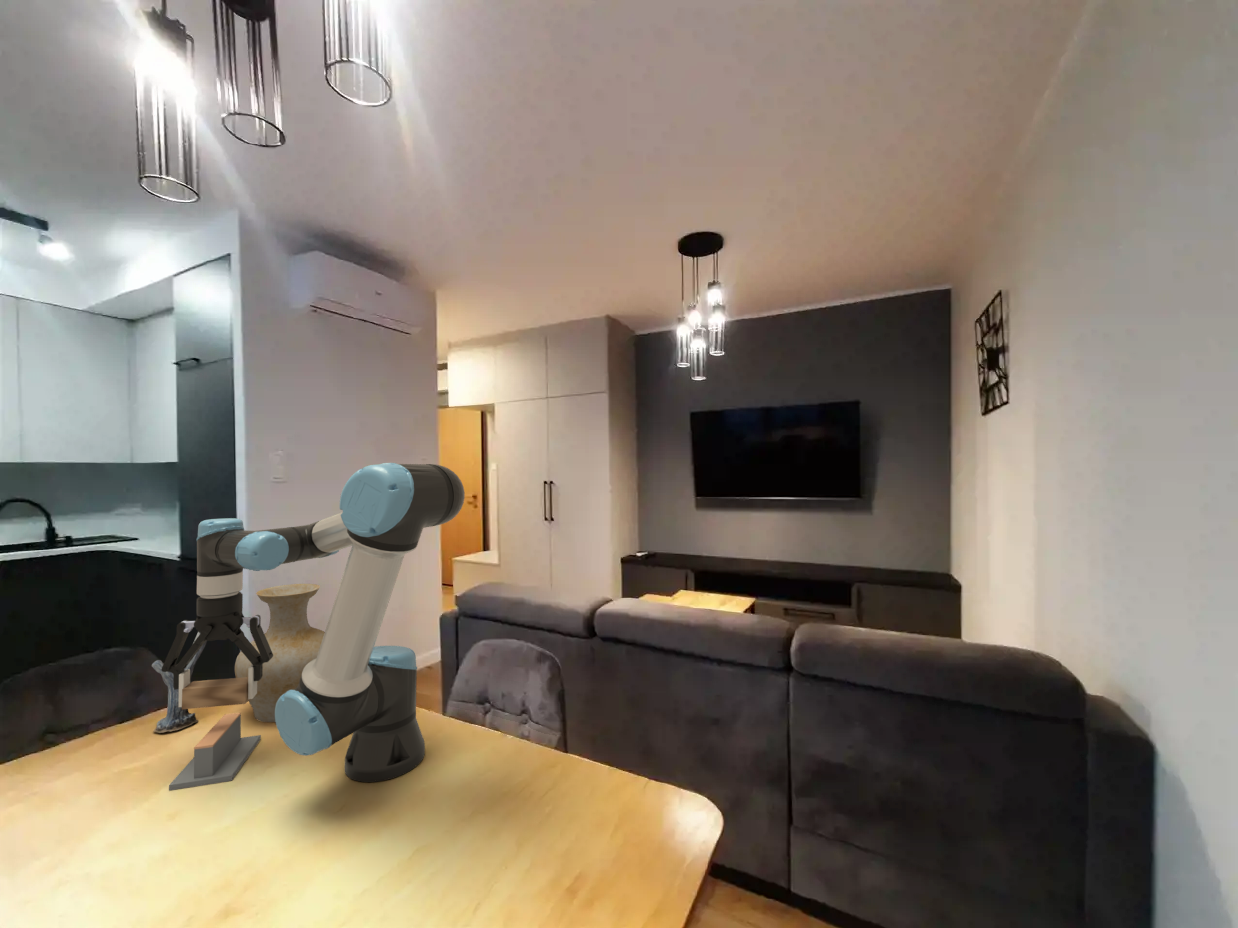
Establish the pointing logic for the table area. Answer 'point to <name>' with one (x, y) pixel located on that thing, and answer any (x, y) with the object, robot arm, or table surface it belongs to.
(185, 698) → the walnut bar
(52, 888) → the table surface
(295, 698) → the robot arm
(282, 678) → the vase
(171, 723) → the antler
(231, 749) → the ridge block
